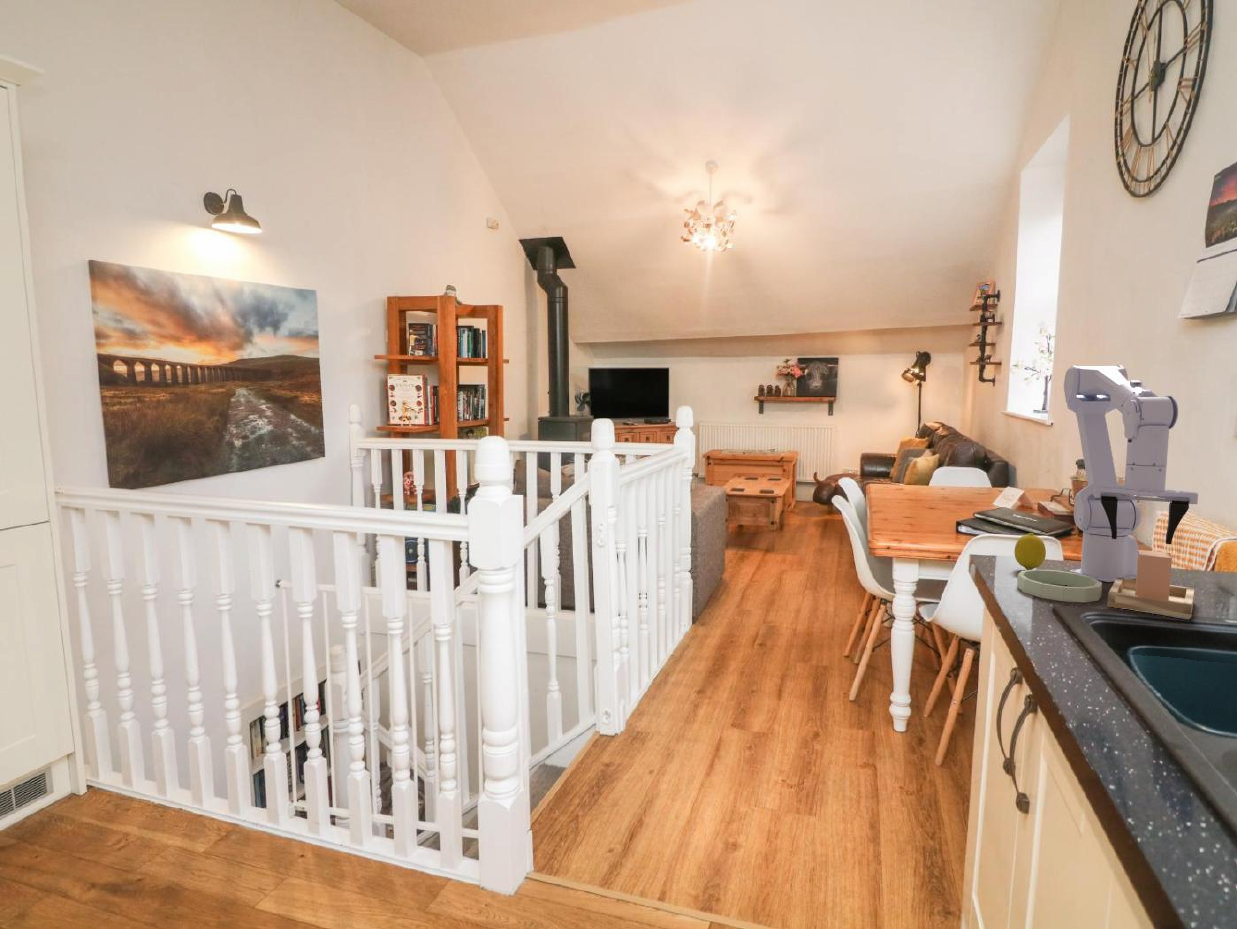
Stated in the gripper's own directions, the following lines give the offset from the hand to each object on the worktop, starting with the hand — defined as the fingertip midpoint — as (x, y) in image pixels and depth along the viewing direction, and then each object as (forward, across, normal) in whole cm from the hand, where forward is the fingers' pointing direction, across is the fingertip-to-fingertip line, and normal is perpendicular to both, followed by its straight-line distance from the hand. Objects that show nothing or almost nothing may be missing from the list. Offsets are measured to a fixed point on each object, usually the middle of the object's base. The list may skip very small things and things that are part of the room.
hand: (1140, 540), depth 122 cm
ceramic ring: (+10, -12, -4) cm, 16 cm away
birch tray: (+10, +2, -3) cm, 11 cm away
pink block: (+10, +2, -3) cm, 10 cm away
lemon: (+10, -18, +10) cm, 23 cm away
